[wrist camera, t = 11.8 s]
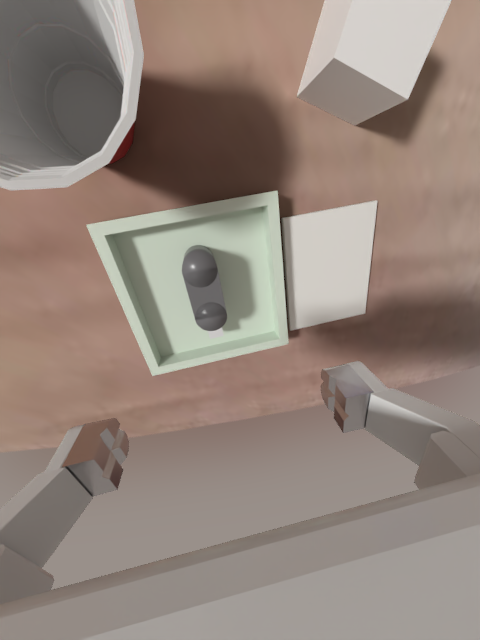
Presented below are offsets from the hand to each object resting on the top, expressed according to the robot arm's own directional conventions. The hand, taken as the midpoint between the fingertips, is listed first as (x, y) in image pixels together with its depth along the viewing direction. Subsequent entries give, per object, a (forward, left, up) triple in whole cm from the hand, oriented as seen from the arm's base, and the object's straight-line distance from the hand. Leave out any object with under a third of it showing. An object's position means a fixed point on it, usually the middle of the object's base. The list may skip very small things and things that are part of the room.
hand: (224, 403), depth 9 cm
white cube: (-15, -15, -18) cm, 28 cm away
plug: (0, 0, -17) cm, 17 cm away
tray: (0, +1, -18) cm, 18 cm away
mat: (-14, +2, -18) cm, 22 cm away
